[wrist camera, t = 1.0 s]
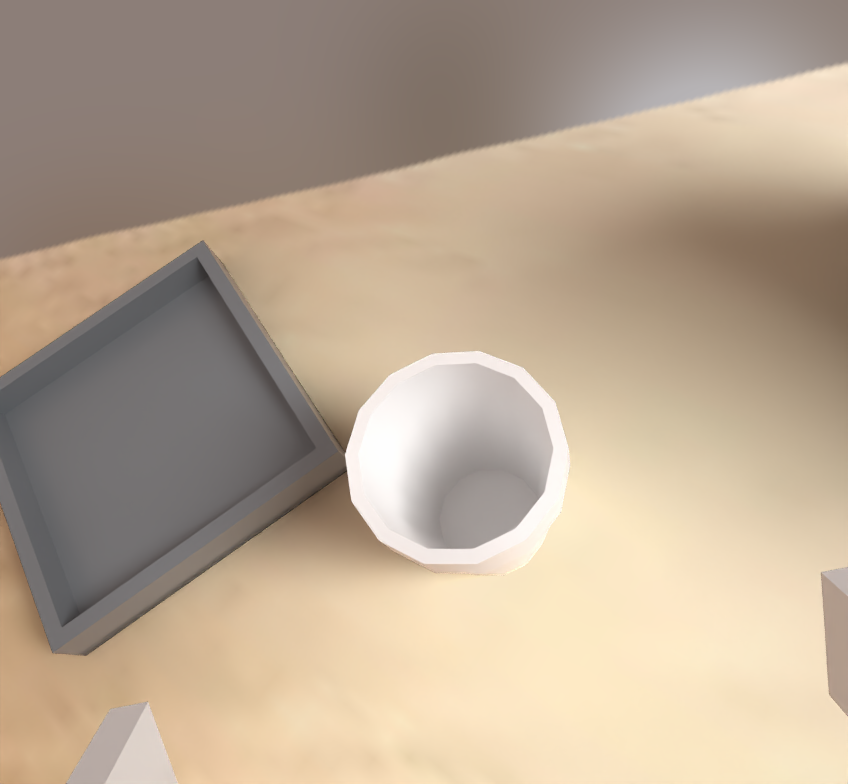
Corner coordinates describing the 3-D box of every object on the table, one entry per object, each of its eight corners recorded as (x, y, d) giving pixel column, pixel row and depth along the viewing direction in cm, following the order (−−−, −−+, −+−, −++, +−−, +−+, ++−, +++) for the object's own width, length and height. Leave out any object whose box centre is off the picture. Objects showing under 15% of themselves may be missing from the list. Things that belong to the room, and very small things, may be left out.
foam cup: (437, 431, 44) (382, 336, 32) (586, 459, 41) (585, 366, 30) (396, 583, 41) (318, 537, 29) (555, 623, 38) (539, 592, 26)
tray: (222, 263, 53) (203, 240, 50) (353, 466, 44) (338, 451, 42) (-3, 416, 52) (-35, 400, 49) (85, 655, 43) (52, 652, 40)
